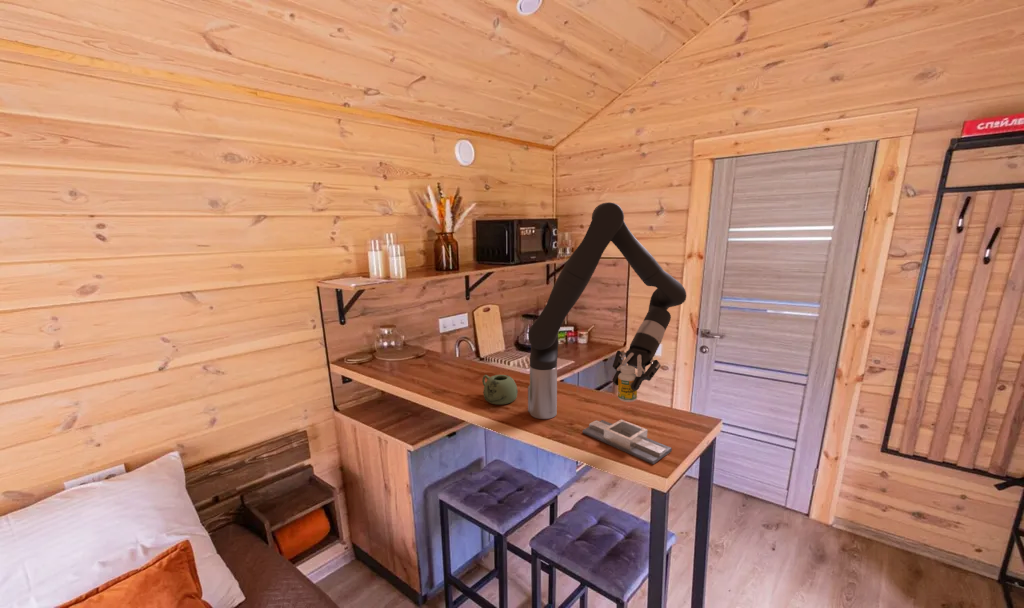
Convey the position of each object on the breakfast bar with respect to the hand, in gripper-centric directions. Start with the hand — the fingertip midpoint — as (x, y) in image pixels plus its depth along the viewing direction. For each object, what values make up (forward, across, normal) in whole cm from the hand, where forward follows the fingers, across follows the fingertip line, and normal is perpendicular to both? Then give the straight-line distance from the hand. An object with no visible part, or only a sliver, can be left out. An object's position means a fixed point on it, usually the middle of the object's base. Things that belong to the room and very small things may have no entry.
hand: (624, 386), depth 119 cm
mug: (+17, -51, +9) cm, 54 cm away
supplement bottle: (+2, 0, +4) cm, 5 cm away
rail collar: (+11, 0, +14) cm, 18 cm away
